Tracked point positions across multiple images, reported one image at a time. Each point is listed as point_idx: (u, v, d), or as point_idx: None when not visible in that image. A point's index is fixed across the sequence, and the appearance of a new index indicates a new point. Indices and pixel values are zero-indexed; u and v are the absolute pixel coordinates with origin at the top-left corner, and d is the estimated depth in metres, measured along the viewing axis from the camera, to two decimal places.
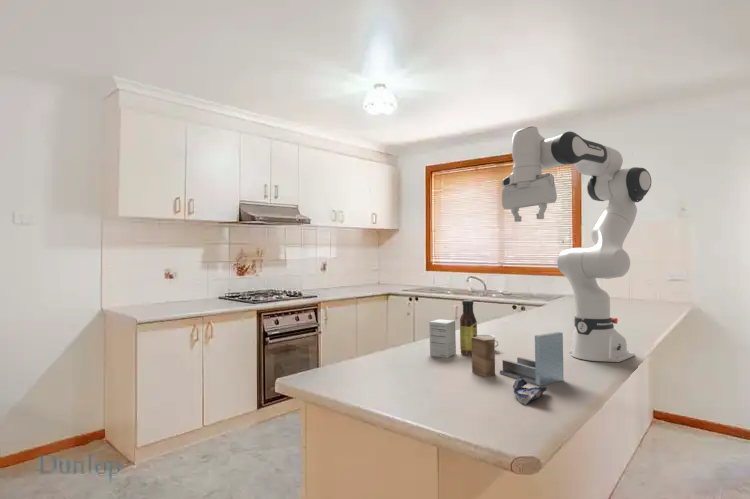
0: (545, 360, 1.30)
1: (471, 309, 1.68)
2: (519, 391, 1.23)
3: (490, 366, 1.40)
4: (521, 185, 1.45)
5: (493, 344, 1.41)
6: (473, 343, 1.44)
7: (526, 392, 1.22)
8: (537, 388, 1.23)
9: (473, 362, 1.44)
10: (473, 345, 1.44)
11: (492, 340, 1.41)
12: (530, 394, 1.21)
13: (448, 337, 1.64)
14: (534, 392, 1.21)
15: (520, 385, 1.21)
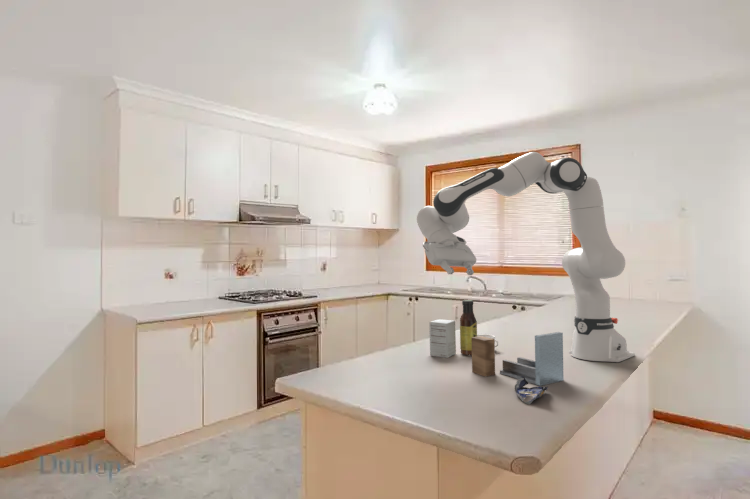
0: (545, 360, 1.30)
1: (471, 309, 1.68)
2: (520, 391, 1.23)
3: (490, 366, 1.40)
4: None
5: (493, 344, 1.41)
6: (473, 343, 1.44)
7: (527, 392, 1.22)
8: (538, 387, 1.23)
9: (473, 362, 1.44)
10: (473, 345, 1.44)
11: (492, 340, 1.41)
12: (531, 394, 1.21)
13: (448, 337, 1.64)
14: (535, 391, 1.21)
15: (522, 385, 1.21)
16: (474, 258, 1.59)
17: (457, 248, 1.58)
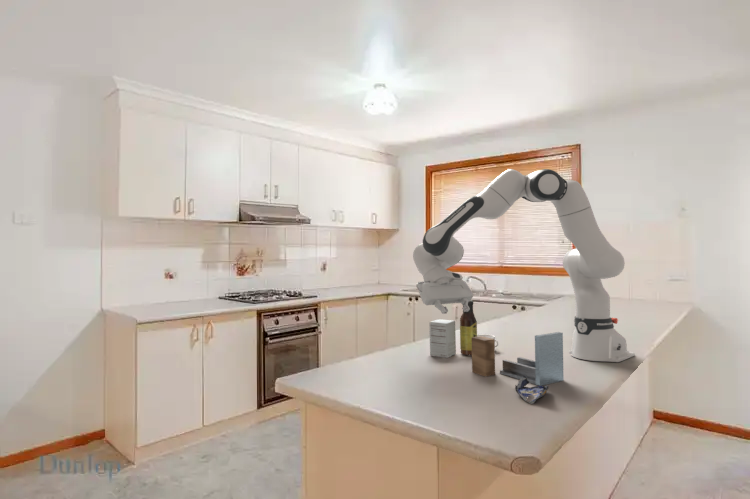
0: (545, 360, 1.30)
1: (471, 309, 1.68)
2: (521, 390, 1.23)
3: (490, 366, 1.40)
4: None
5: (493, 344, 1.41)
6: (473, 343, 1.44)
7: (528, 391, 1.23)
8: (538, 387, 1.24)
9: (473, 362, 1.44)
10: (473, 345, 1.44)
11: (492, 340, 1.41)
12: (532, 393, 1.21)
13: (448, 337, 1.64)
14: (536, 391, 1.22)
15: (523, 384, 1.21)
16: (470, 293, 1.60)
17: (453, 284, 1.60)
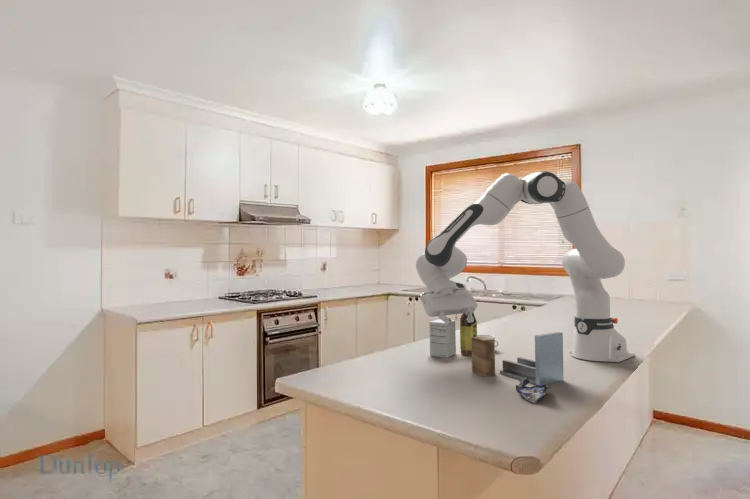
0: (545, 360, 1.30)
1: None
2: (521, 390, 1.24)
3: (490, 366, 1.40)
4: None
5: (493, 344, 1.41)
6: (473, 343, 1.44)
7: (529, 391, 1.23)
8: (538, 386, 1.24)
9: (473, 362, 1.44)
10: (473, 345, 1.44)
11: (492, 340, 1.41)
12: (533, 392, 1.22)
13: (448, 337, 1.64)
14: (537, 390, 1.22)
15: (524, 384, 1.22)
16: (475, 303, 1.59)
17: (457, 295, 1.59)
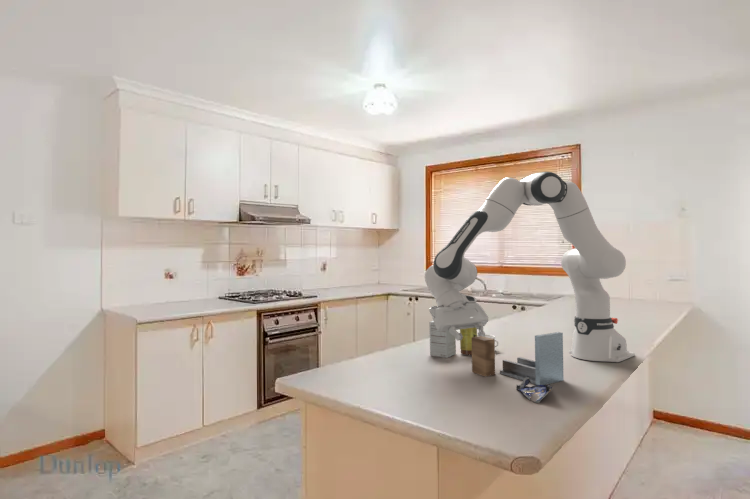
0: (545, 360, 1.30)
1: None
2: (522, 390, 1.24)
3: (490, 366, 1.40)
4: None
5: (493, 344, 1.41)
6: (473, 343, 1.44)
7: (530, 390, 1.23)
8: (539, 386, 1.25)
9: (473, 362, 1.44)
10: (473, 345, 1.44)
11: (492, 340, 1.41)
12: (534, 392, 1.22)
13: (448, 337, 1.64)
14: (538, 390, 1.23)
15: (525, 384, 1.22)
16: (486, 317, 1.54)
17: (467, 308, 1.54)
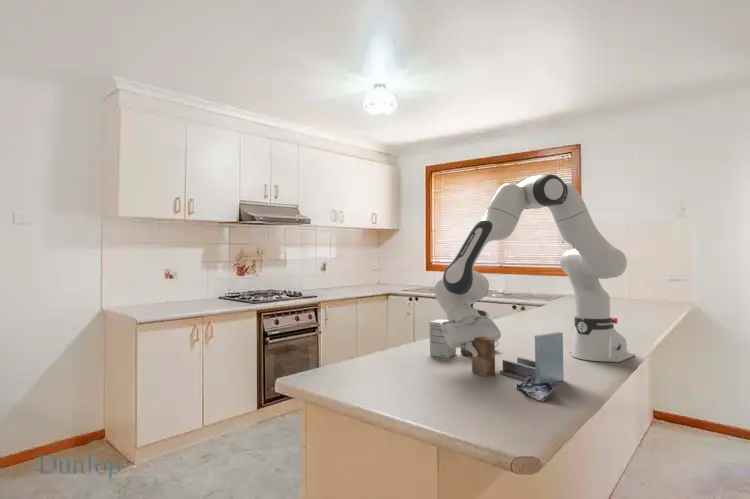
0: (545, 360, 1.30)
1: None
2: (523, 389, 1.25)
3: (490, 366, 1.40)
4: None
5: (493, 344, 1.41)
6: (473, 343, 1.44)
7: (530, 389, 1.24)
8: (538, 384, 1.26)
9: (473, 362, 1.44)
10: (473, 345, 1.44)
11: (492, 340, 1.41)
12: (535, 391, 1.23)
13: None
14: (538, 388, 1.24)
15: (527, 383, 1.23)
16: (498, 333, 1.49)
17: (479, 323, 1.49)
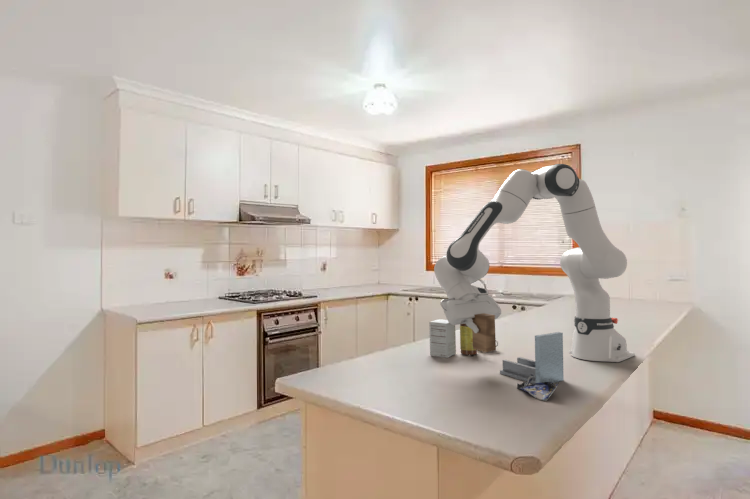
0: (545, 360, 1.30)
1: None
2: (524, 389, 1.25)
3: (490, 341, 1.40)
4: None
5: (493, 320, 1.41)
6: (473, 320, 1.44)
7: (531, 389, 1.25)
8: (538, 384, 1.27)
9: (474, 339, 1.44)
10: (473, 322, 1.44)
11: (492, 316, 1.41)
12: (536, 390, 1.24)
13: (448, 337, 1.64)
14: (539, 388, 1.25)
15: (528, 383, 1.23)
16: (498, 310, 1.49)
17: (479, 301, 1.49)
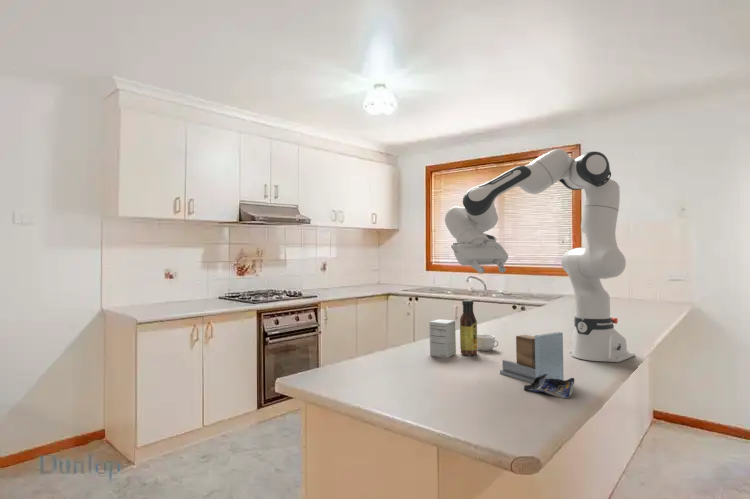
0: (545, 360, 1.30)
1: (471, 309, 1.68)
2: None
3: None
4: None
5: None
6: (518, 342, 1.39)
7: None
8: None
9: (518, 361, 1.39)
10: (518, 344, 1.39)
11: None
12: (543, 389, 1.25)
13: (448, 337, 1.64)
14: (543, 386, 1.26)
15: None
16: (506, 255, 1.58)
17: (487, 246, 1.58)
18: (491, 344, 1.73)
